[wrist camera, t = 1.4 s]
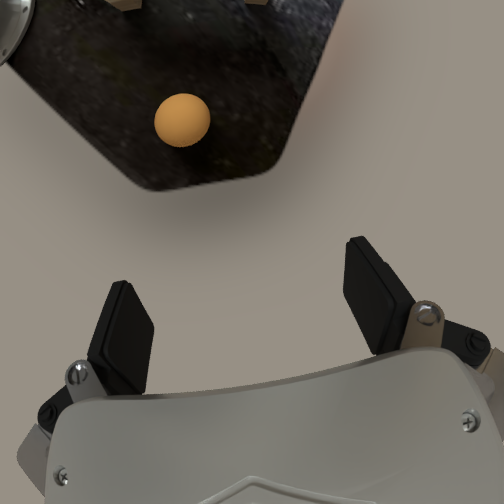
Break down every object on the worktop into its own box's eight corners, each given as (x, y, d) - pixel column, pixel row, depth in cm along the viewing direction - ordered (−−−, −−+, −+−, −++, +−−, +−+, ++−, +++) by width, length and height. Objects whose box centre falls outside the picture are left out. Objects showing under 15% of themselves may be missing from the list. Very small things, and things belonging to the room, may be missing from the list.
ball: (161, 142, 25) (150, 154, 21) (160, 94, 22) (148, 96, 18) (210, 140, 26) (208, 152, 22) (211, 92, 23) (210, 93, 19)
